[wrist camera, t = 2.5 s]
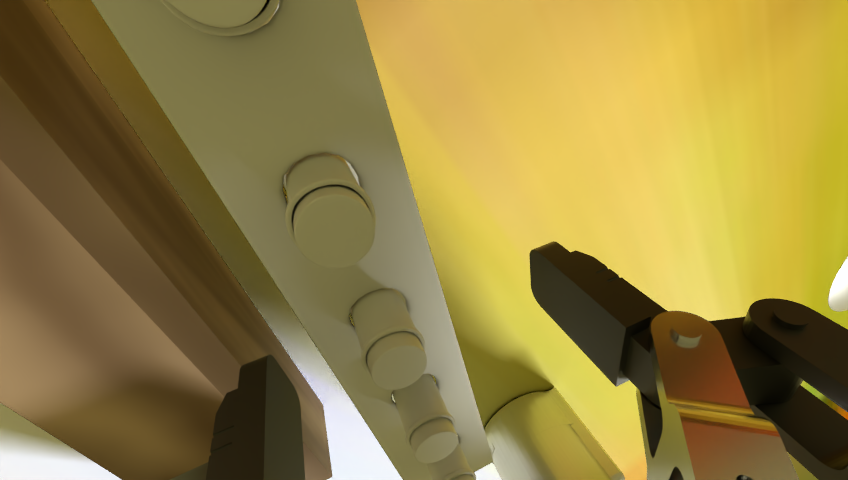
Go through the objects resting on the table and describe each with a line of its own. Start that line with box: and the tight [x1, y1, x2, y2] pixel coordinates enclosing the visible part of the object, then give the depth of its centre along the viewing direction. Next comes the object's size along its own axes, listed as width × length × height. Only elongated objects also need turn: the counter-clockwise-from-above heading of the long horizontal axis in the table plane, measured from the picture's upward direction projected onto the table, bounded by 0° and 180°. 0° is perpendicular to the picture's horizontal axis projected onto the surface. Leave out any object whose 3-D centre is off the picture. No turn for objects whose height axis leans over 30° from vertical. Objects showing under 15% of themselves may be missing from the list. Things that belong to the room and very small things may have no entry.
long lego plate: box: [91, 0, 493, 480], centre depth 15 cm, size 25×4×13 cm, turn 15°
